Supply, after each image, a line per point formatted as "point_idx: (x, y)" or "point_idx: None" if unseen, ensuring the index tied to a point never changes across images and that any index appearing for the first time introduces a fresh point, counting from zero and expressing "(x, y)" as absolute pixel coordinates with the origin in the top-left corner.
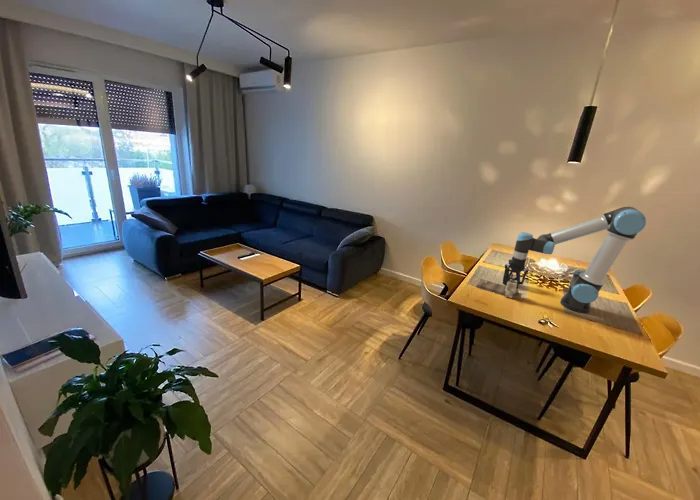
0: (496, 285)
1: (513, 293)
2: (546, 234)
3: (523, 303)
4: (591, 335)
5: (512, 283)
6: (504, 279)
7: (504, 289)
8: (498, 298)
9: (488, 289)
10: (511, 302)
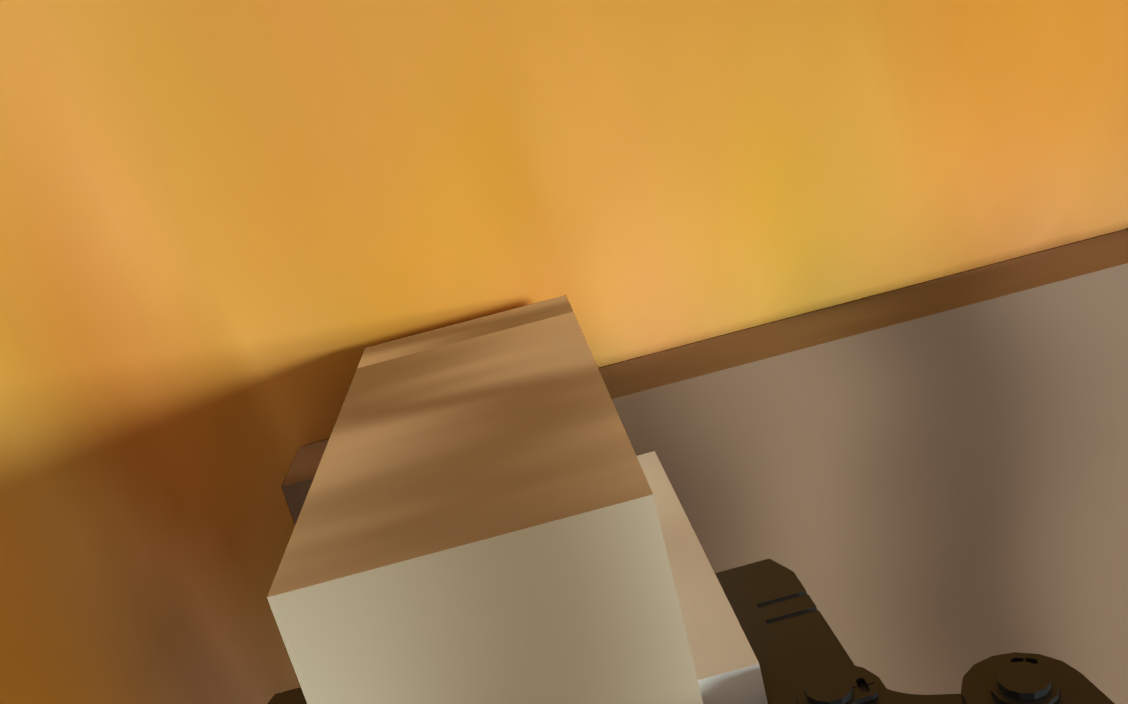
0: None
1: None
2: None
3: (12, 393)
4: None
5: (463, 638)
6: (972, 672)
7: None
8: (641, 12)
9: (1097, 253)
10: (253, 115)
